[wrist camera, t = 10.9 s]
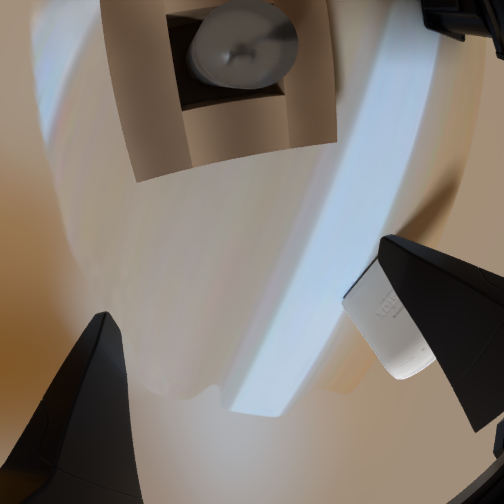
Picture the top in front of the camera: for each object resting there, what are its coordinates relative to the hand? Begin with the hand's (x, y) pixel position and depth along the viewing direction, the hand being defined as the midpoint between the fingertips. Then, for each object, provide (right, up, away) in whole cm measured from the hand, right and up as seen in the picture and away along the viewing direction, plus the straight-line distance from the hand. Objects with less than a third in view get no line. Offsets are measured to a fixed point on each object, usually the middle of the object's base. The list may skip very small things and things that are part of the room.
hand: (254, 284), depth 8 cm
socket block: (-2, +13, +7) cm, 15 cm away
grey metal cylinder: (-2, +13, +7) cm, 15 cm away
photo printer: (+14, -2, +22) cm, 26 cm away
